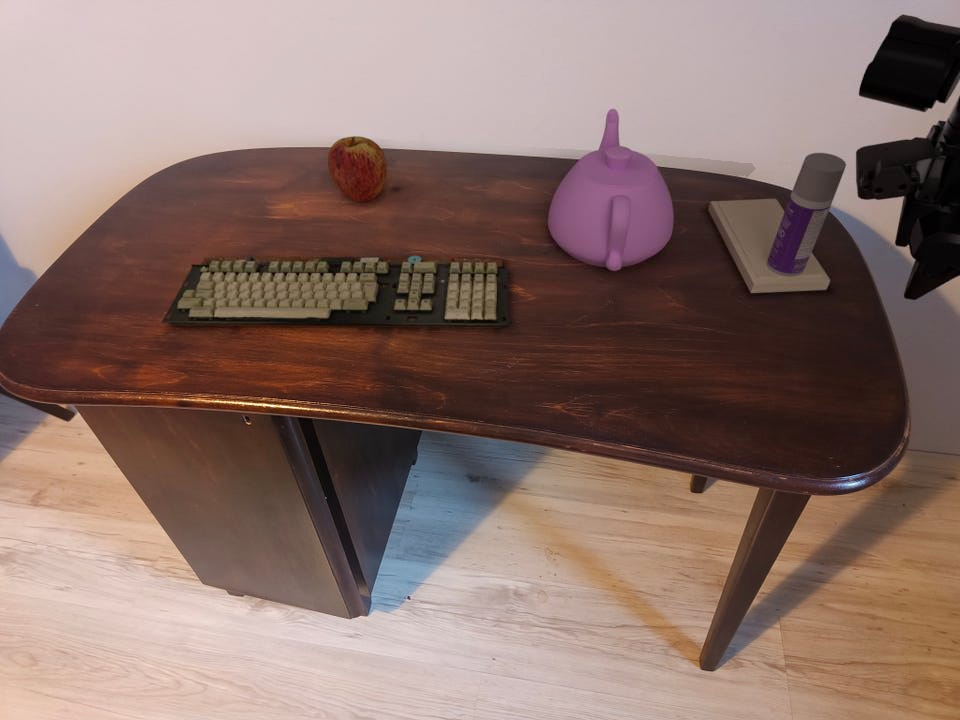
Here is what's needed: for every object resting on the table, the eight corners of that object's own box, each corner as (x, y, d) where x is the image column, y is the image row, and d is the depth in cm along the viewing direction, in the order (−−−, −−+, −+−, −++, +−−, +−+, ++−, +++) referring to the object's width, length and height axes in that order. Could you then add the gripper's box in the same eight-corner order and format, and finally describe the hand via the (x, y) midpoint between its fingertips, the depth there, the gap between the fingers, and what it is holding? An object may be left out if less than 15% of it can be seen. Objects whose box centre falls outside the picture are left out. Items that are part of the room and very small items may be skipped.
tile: (826, 290, 84) (831, 278, 82) (750, 293, 84) (754, 281, 82) (772, 207, 98) (776, 196, 96) (708, 210, 98) (710, 198, 96)
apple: (325, 206, 102) (311, 148, 95) (349, 178, 108) (338, 121, 101) (377, 214, 100) (367, 155, 93) (399, 185, 106) (391, 127, 99)
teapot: (680, 287, 85) (703, 197, 75) (547, 285, 86) (552, 196, 77) (656, 189, 103) (672, 105, 93) (546, 188, 104) (550, 106, 94)
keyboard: (163, 329, 82) (155, 314, 81) (202, 260, 93) (196, 246, 91) (510, 330, 80) (510, 315, 78) (511, 260, 90) (511, 245, 89)
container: (758, 261, 85) (794, 157, 75) (785, 251, 87) (825, 148, 76) (784, 280, 82) (825, 175, 72) (811, 270, 84) (856, 165, 73)
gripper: (874, 73, 63) (819, 210, 74) (891, 164, 50) (822, 312, 62) (1004, 85, 60) (926, 226, 71) (1055, 185, 48) (951, 336, 59)
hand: (904, 270), depth 66 cm, fingers open, 9 cm apart
